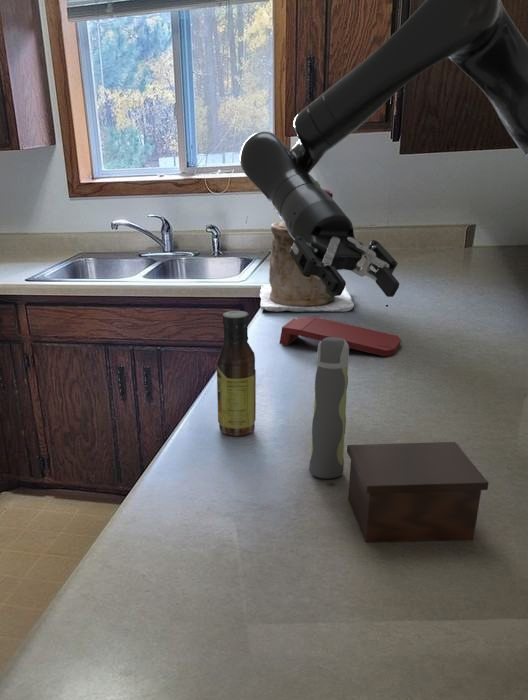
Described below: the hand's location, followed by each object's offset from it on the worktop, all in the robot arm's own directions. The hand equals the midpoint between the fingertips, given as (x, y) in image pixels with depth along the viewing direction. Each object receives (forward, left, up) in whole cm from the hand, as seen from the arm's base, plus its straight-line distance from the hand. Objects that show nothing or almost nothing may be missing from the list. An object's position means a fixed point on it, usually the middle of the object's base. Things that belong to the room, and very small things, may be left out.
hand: (368, 290), depth 97 cm
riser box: (-4, +15, -26) cm, 30 cm away
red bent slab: (-10, -64, -26) cm, 70 cm away
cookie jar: (-8, -107, -26) cm, 110 cm away
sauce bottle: (+16, -16, -26) cm, 35 cm away
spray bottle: (+4, +1, -26) cm, 27 cm away
